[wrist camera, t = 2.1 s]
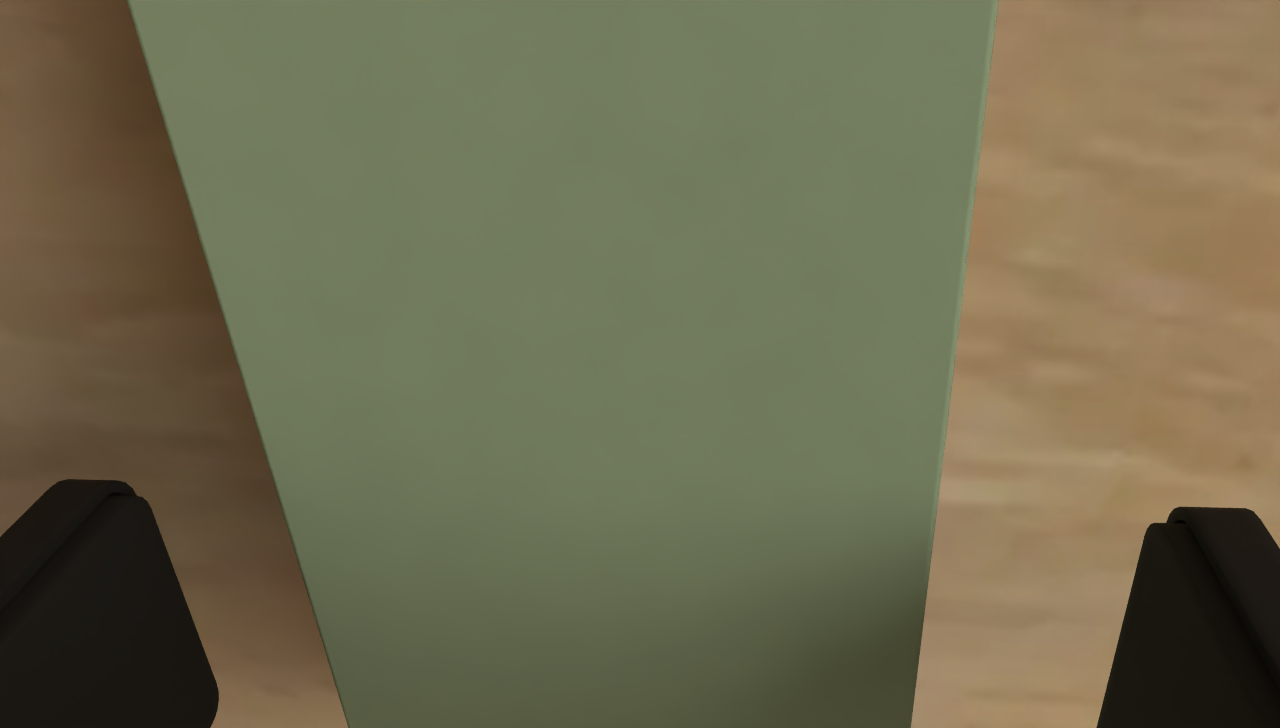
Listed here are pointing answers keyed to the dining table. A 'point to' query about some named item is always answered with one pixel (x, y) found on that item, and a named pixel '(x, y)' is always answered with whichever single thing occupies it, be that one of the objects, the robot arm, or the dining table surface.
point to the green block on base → (593, 337)
